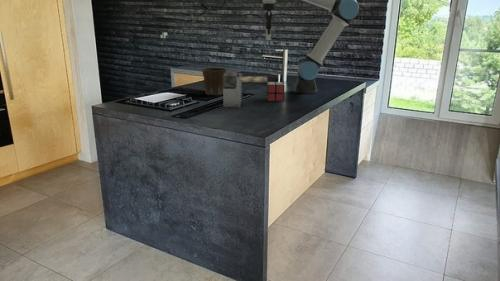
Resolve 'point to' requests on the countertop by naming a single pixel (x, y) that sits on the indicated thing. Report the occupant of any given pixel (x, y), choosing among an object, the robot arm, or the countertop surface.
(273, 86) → the puzzle cube
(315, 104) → the countertop surface
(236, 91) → the bracket
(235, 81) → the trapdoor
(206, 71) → the plant pot
